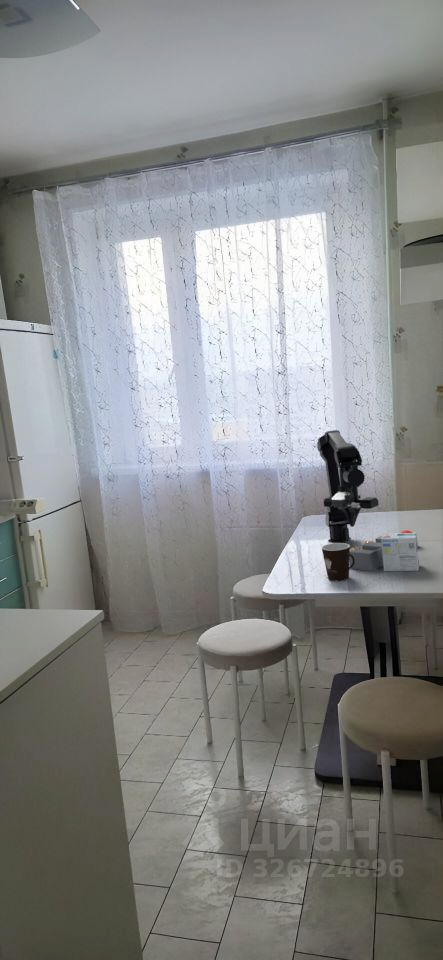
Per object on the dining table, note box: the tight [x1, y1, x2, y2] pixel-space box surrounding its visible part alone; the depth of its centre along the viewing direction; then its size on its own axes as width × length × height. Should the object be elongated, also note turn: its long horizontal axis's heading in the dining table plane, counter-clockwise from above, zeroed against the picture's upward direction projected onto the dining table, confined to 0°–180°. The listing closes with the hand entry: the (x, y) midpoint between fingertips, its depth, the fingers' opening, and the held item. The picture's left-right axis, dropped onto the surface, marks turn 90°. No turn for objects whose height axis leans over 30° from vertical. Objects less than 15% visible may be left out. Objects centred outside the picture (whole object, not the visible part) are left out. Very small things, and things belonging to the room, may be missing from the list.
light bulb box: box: [381, 532, 420, 572], centre depth 200 cm, size 11×7×11 cm, turn 71°
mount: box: [349, 535, 383, 572], centre depth 211 cm, size 8×21×6 cm, turn 137°
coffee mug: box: [321, 542, 355, 582], centre depth 196 cm, size 12×9×10 cm
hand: (352, 526), depth 221 cm, fingers closed
